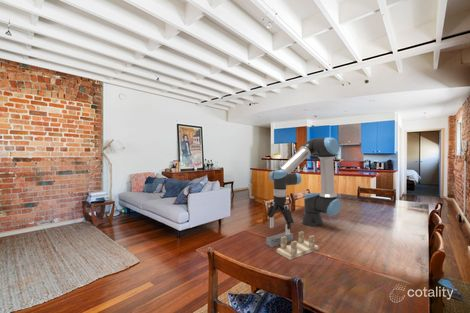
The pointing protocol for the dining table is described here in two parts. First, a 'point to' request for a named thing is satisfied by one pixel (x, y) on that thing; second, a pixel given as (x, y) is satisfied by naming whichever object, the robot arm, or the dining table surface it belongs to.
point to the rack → (297, 246)
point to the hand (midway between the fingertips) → (279, 230)
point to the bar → (278, 239)
